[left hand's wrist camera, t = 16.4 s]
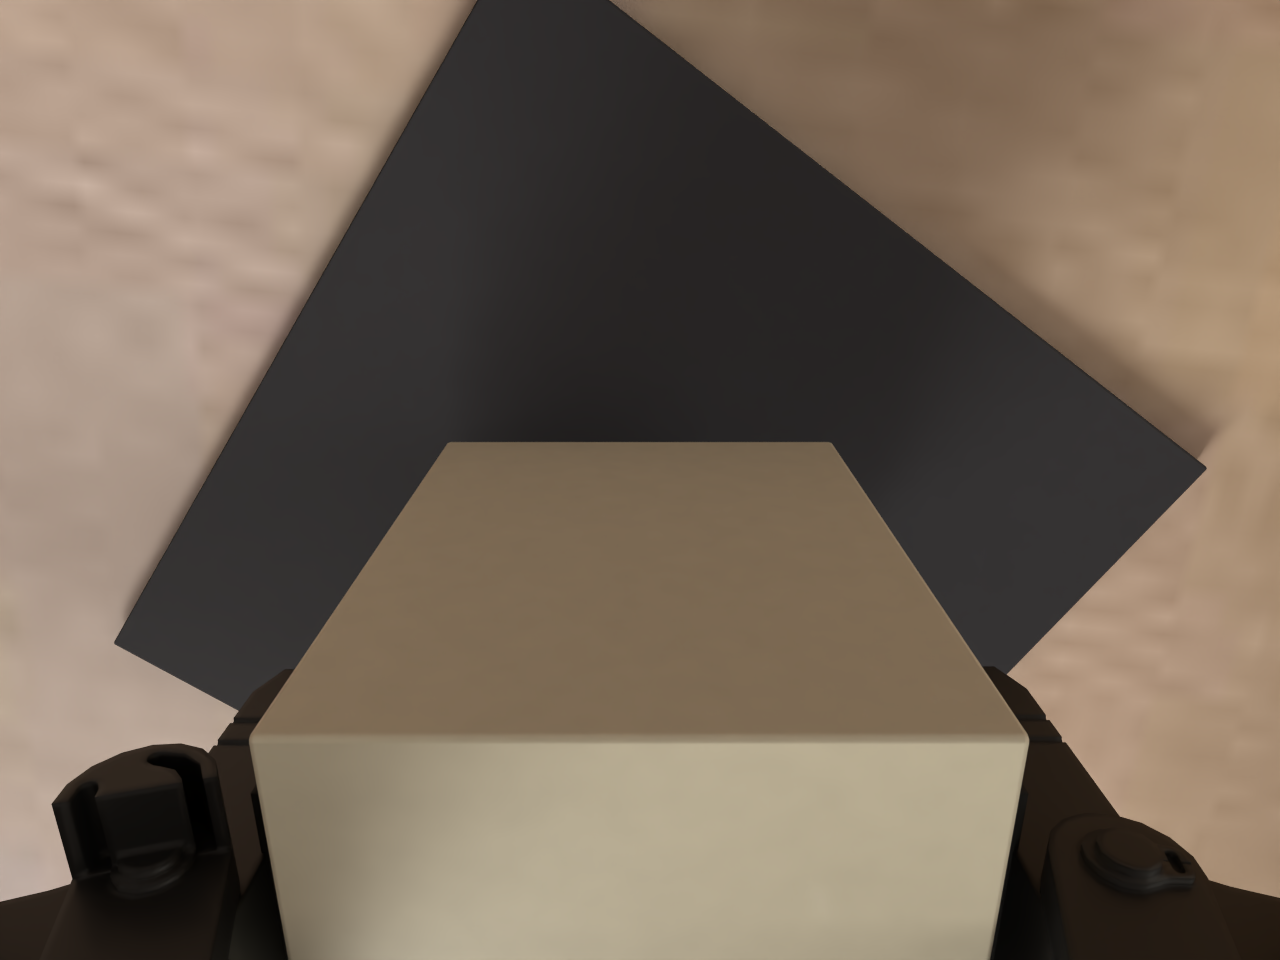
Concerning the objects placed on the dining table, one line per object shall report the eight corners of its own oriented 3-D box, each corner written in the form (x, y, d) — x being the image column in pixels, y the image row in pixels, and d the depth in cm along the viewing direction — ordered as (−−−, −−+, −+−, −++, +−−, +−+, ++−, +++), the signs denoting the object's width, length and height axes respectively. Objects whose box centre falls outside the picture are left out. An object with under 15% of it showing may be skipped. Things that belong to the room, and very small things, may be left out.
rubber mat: (1197, 462, 15) (1208, 468, 15) (718, 957, 19) (719, 970, 19) (520, -66, 13) (518, -72, 12) (121, 635, 17) (112, 643, 16)
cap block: (831, 440, 13) (1034, 736, 6) (807, 760, 15) (940, 1244, 8) (447, 440, 13) (243, 736, 6) (471, 760, 15) (337, 1244, 8)
